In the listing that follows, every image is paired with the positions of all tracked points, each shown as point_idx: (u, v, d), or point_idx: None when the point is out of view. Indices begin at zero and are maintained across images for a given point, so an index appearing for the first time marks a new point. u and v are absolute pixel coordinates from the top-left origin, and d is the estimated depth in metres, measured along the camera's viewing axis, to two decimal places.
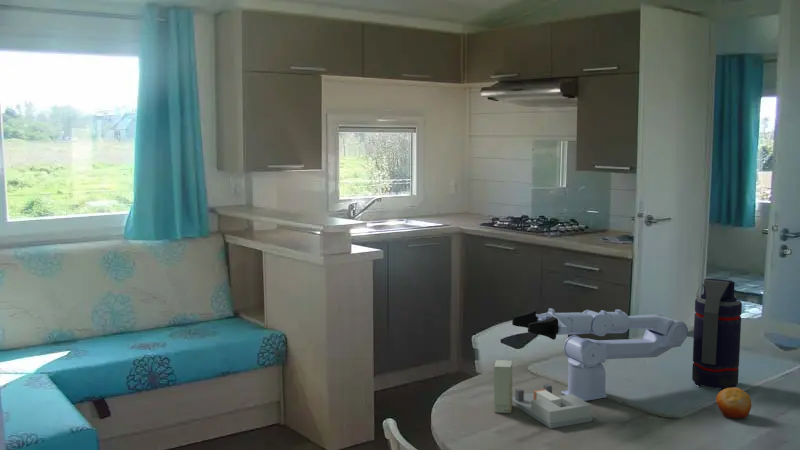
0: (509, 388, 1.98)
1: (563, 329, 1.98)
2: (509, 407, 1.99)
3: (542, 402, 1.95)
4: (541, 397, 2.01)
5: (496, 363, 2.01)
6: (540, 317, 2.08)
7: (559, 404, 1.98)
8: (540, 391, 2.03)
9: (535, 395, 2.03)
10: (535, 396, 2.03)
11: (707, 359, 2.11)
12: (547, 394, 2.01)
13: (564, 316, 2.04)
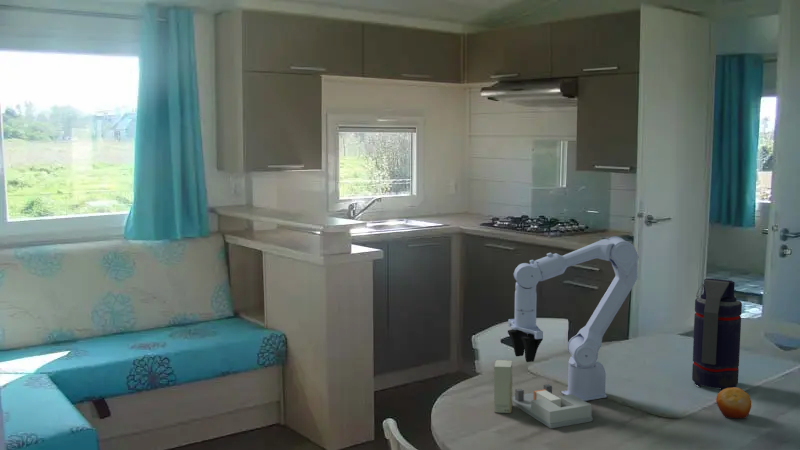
0: (509, 388, 1.98)
1: (538, 336, 2.02)
2: (509, 407, 1.99)
3: (542, 402, 1.95)
4: (541, 397, 2.01)
5: (496, 363, 2.01)
6: None
7: (559, 404, 1.98)
8: (540, 391, 2.03)
9: (535, 395, 2.03)
10: (535, 396, 2.03)
11: (707, 359, 2.11)
12: (547, 394, 2.01)
13: (521, 317, 2.06)
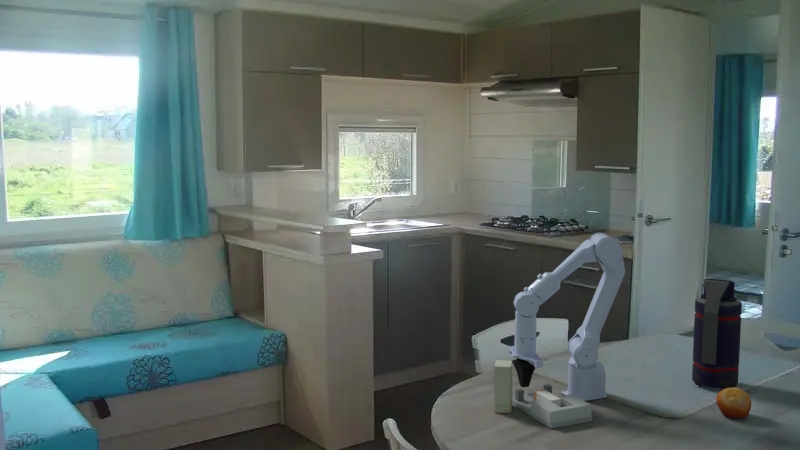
0: (509, 388, 1.98)
1: (538, 364, 2.03)
2: (509, 407, 1.99)
3: (542, 402, 1.95)
4: (541, 397, 2.01)
5: (496, 363, 2.01)
6: None
7: (559, 404, 1.98)
8: (540, 391, 2.03)
9: (535, 395, 2.03)
10: (535, 396, 2.03)
11: (707, 359, 2.11)
12: (547, 394, 2.01)
13: (520, 345, 2.07)
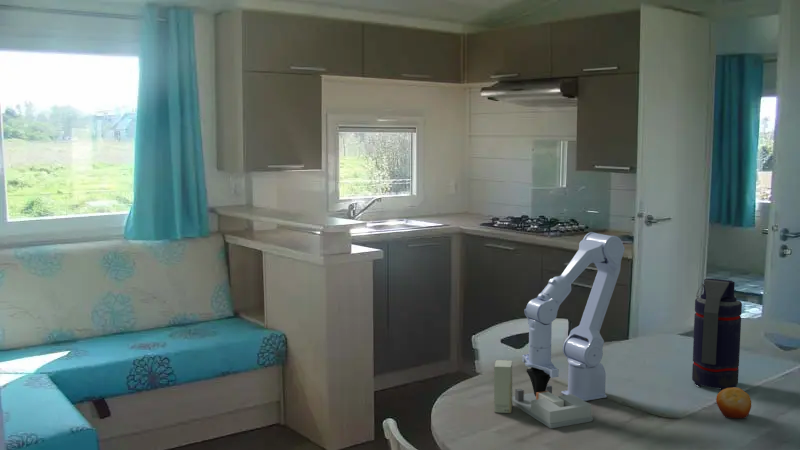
0: (509, 388, 1.98)
1: (554, 374, 1.97)
2: (509, 407, 1.99)
3: (542, 402, 1.95)
4: None
5: (496, 363, 2.01)
6: None
7: (562, 406, 1.97)
8: (543, 393, 2.02)
9: (537, 396, 2.02)
10: (537, 397, 2.02)
11: (707, 359, 2.11)
12: (550, 395, 2.00)
13: (535, 354, 2.00)
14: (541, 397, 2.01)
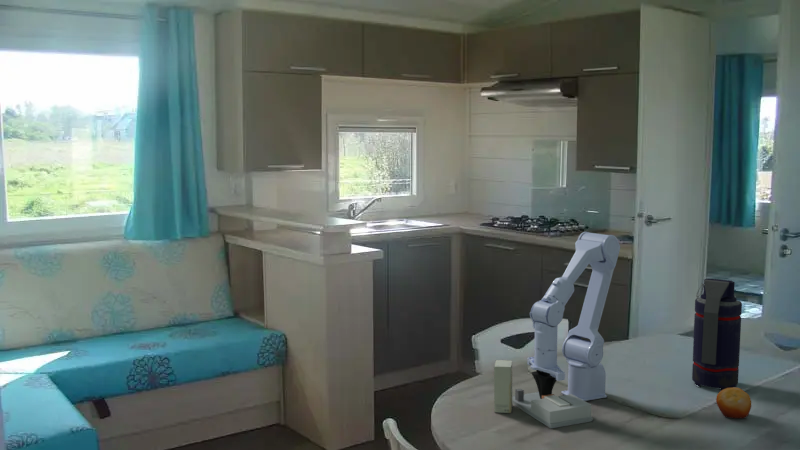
0: (509, 388, 1.98)
1: (560, 377, 1.94)
2: (509, 407, 1.99)
3: (542, 402, 1.95)
4: None
5: (496, 363, 2.01)
6: None
7: None
8: (548, 396, 1.99)
9: None
10: None
11: (707, 359, 2.11)
12: (556, 399, 1.97)
13: (541, 357, 1.98)
14: None
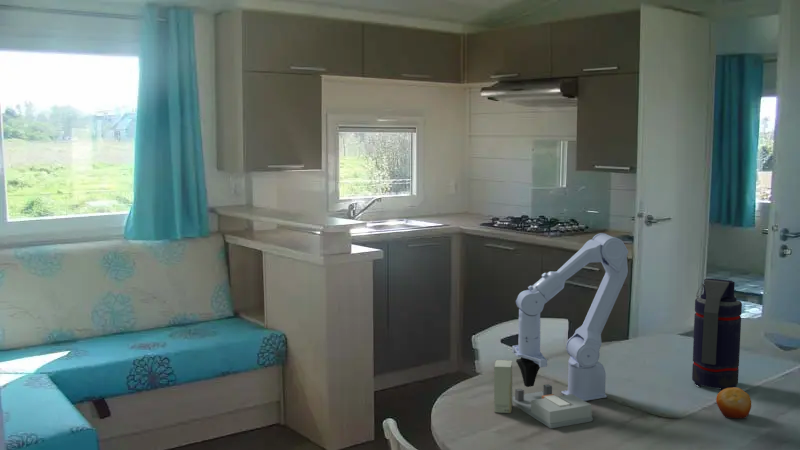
0: (509, 388, 1.98)
1: (543, 364, 2.01)
2: (509, 407, 1.99)
3: (542, 402, 1.95)
4: None
5: (496, 363, 2.01)
6: None
7: None
8: (548, 396, 1.99)
9: None
10: None
11: (707, 359, 2.11)
12: (556, 399, 1.97)
13: (525, 345, 2.05)
14: None
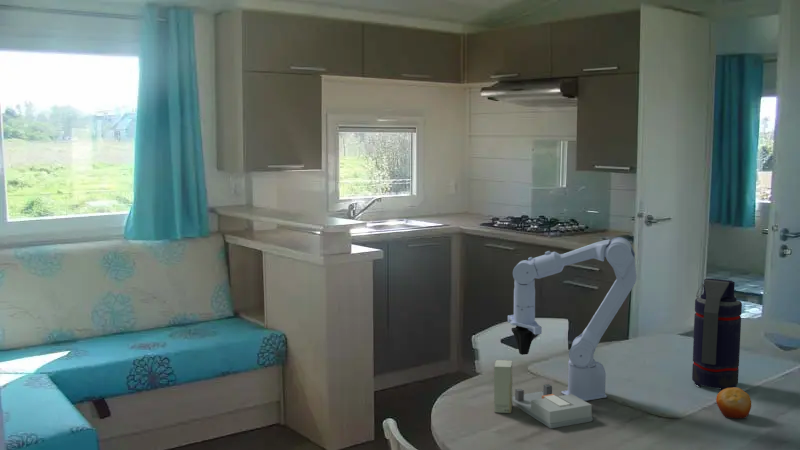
0: (509, 388, 1.98)
1: (537, 331, 2.07)
2: (509, 407, 1.99)
3: (542, 402, 1.95)
4: None
5: (496, 363, 2.01)
6: None
7: None
8: (548, 396, 1.99)
9: None
10: None
11: (707, 359, 2.11)
12: (556, 399, 1.97)
13: (520, 313, 2.11)
14: None
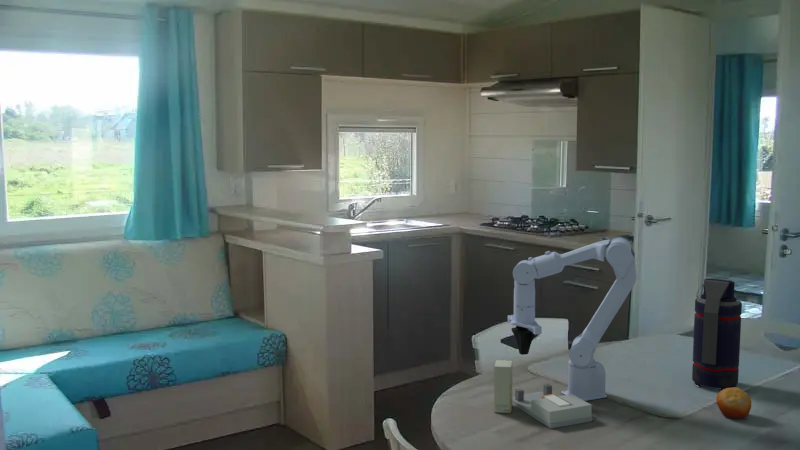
0: (509, 388, 1.98)
1: (537, 331, 2.07)
2: (509, 407, 1.99)
3: (542, 402, 1.95)
4: None
5: (496, 363, 2.01)
6: None
7: None
8: (548, 396, 1.99)
9: None
10: None
11: (707, 359, 2.11)
12: (556, 399, 1.97)
13: (520, 313, 2.11)
14: None
